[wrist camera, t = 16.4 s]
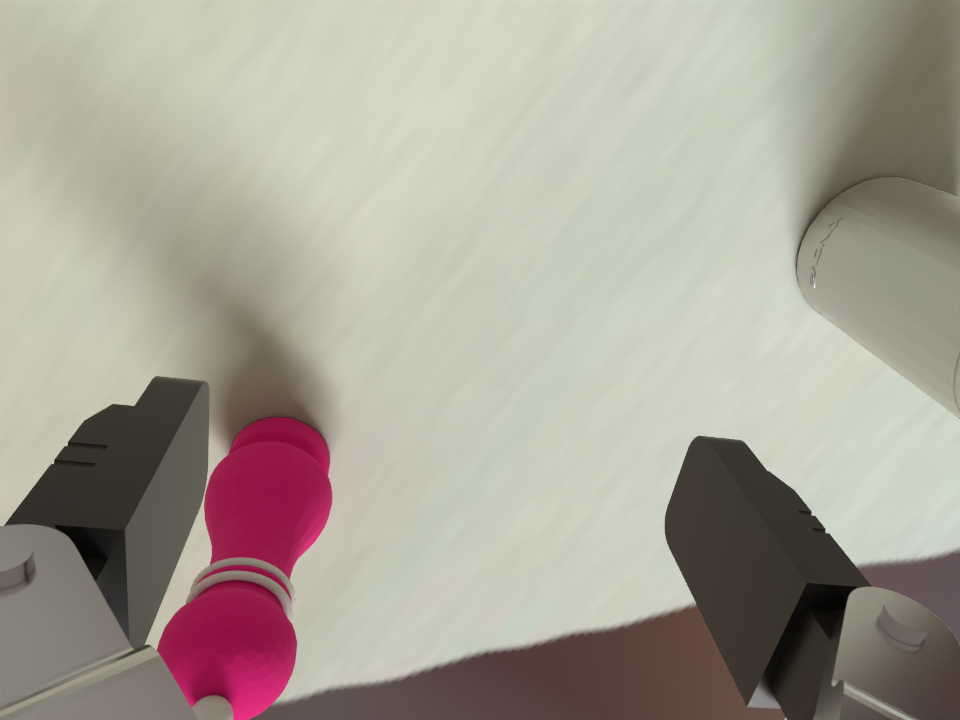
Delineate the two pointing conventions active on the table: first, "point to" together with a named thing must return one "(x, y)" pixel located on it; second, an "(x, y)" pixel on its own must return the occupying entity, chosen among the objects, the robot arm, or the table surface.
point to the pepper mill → (250, 571)
